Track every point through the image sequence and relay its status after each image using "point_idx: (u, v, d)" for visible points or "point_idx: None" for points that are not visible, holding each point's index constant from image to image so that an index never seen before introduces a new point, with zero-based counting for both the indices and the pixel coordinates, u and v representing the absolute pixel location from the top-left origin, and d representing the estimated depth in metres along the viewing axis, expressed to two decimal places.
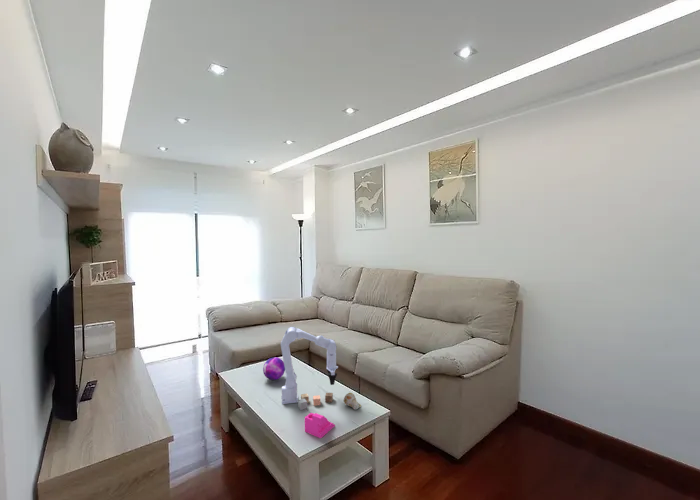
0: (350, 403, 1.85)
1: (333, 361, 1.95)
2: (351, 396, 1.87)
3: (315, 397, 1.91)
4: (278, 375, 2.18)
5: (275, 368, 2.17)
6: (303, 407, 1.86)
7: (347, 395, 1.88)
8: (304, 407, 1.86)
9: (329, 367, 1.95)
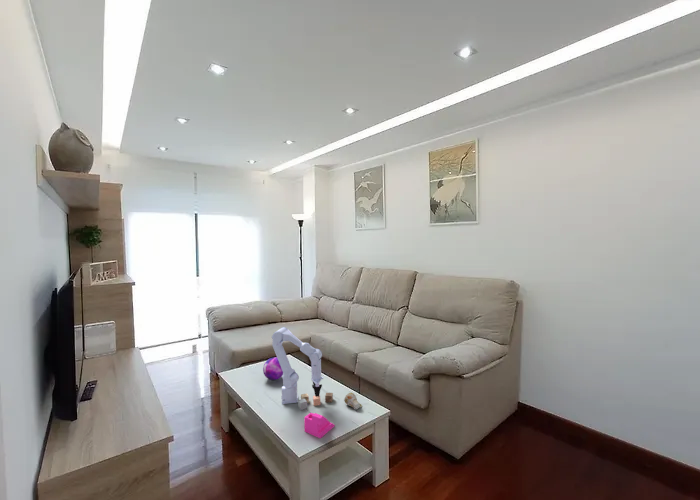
0: (351, 403, 1.85)
1: (318, 372, 1.88)
2: (352, 396, 1.87)
3: (315, 397, 1.91)
4: (278, 375, 2.18)
5: (275, 368, 2.17)
6: (303, 407, 1.86)
7: (348, 395, 1.88)
8: (304, 407, 1.86)
9: (314, 378, 1.88)
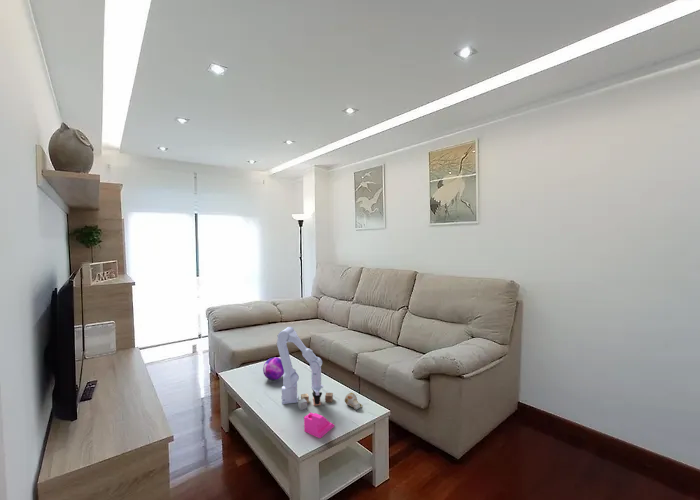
0: (351, 403, 1.85)
1: (318, 380, 1.88)
2: (352, 396, 1.87)
3: None
4: (278, 375, 2.18)
5: (275, 368, 2.17)
6: (303, 407, 1.86)
7: (348, 395, 1.88)
8: (304, 407, 1.86)
9: (314, 386, 1.88)
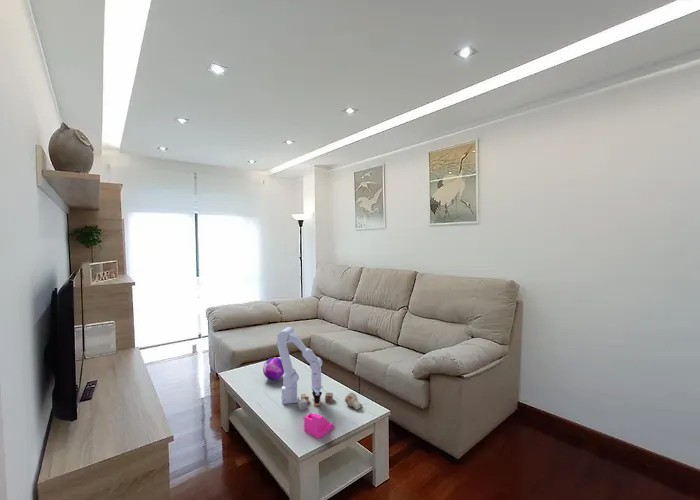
0: (351, 403, 1.85)
1: (318, 380, 1.88)
2: (352, 396, 1.87)
3: None
4: (278, 375, 2.18)
5: (275, 368, 2.17)
6: (303, 407, 1.86)
7: (348, 395, 1.88)
8: (304, 407, 1.86)
9: (314, 386, 1.88)
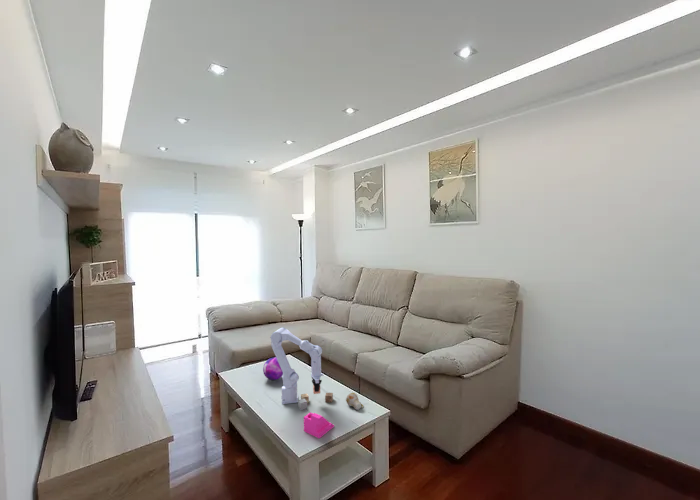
0: (352, 403, 1.85)
1: (318, 368, 1.88)
2: (353, 396, 1.87)
3: None
4: (278, 375, 2.18)
5: (275, 368, 2.17)
6: (303, 407, 1.86)
7: (349, 395, 1.88)
8: (304, 407, 1.86)
9: (314, 375, 1.88)
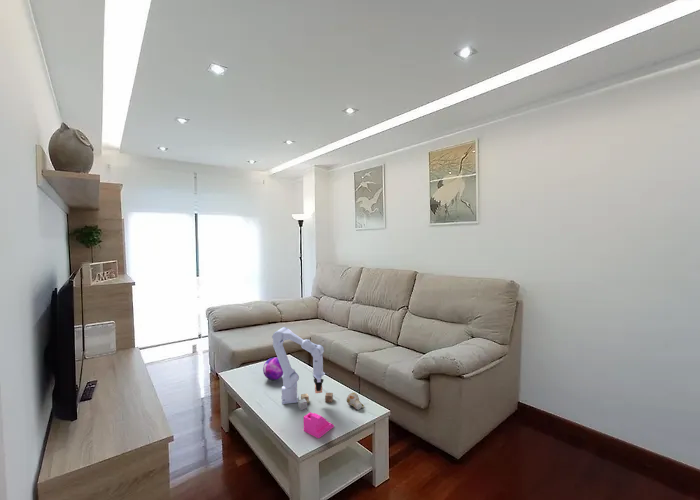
0: (353, 403, 1.85)
1: (319, 367, 1.87)
2: (354, 396, 1.87)
3: None
4: (278, 375, 2.18)
5: (275, 368, 2.17)
6: (303, 407, 1.86)
7: (350, 395, 1.88)
8: (304, 407, 1.86)
9: (315, 374, 1.87)
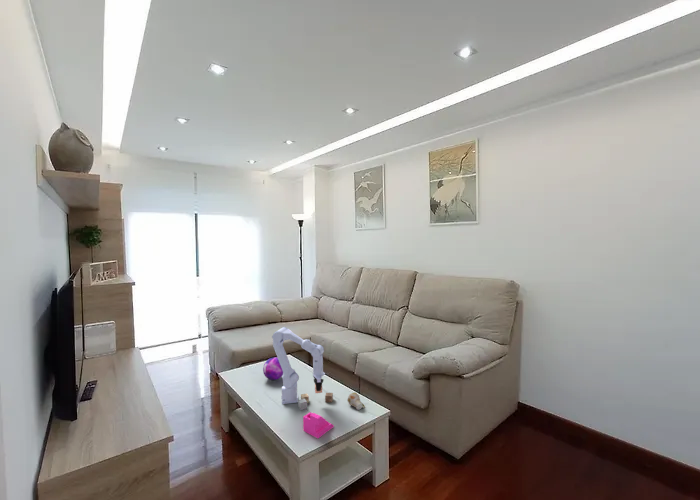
0: (353, 403, 1.85)
1: (319, 367, 1.87)
2: (355, 396, 1.87)
3: None
4: (278, 375, 2.18)
5: (275, 368, 2.17)
6: (303, 407, 1.86)
7: (351, 395, 1.88)
8: (304, 407, 1.86)
9: (315, 374, 1.87)
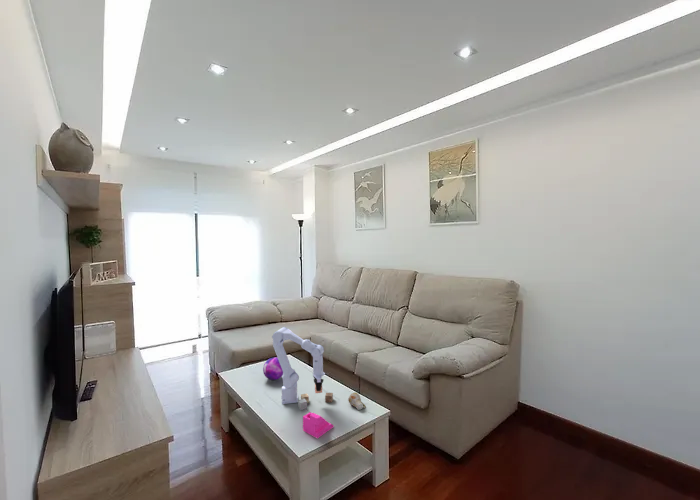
0: (354, 403, 1.85)
1: (319, 367, 1.87)
2: (355, 396, 1.87)
3: None
4: (278, 375, 2.18)
5: (275, 368, 2.17)
6: (303, 407, 1.86)
7: (352, 395, 1.88)
8: (304, 407, 1.86)
9: (315, 374, 1.87)
